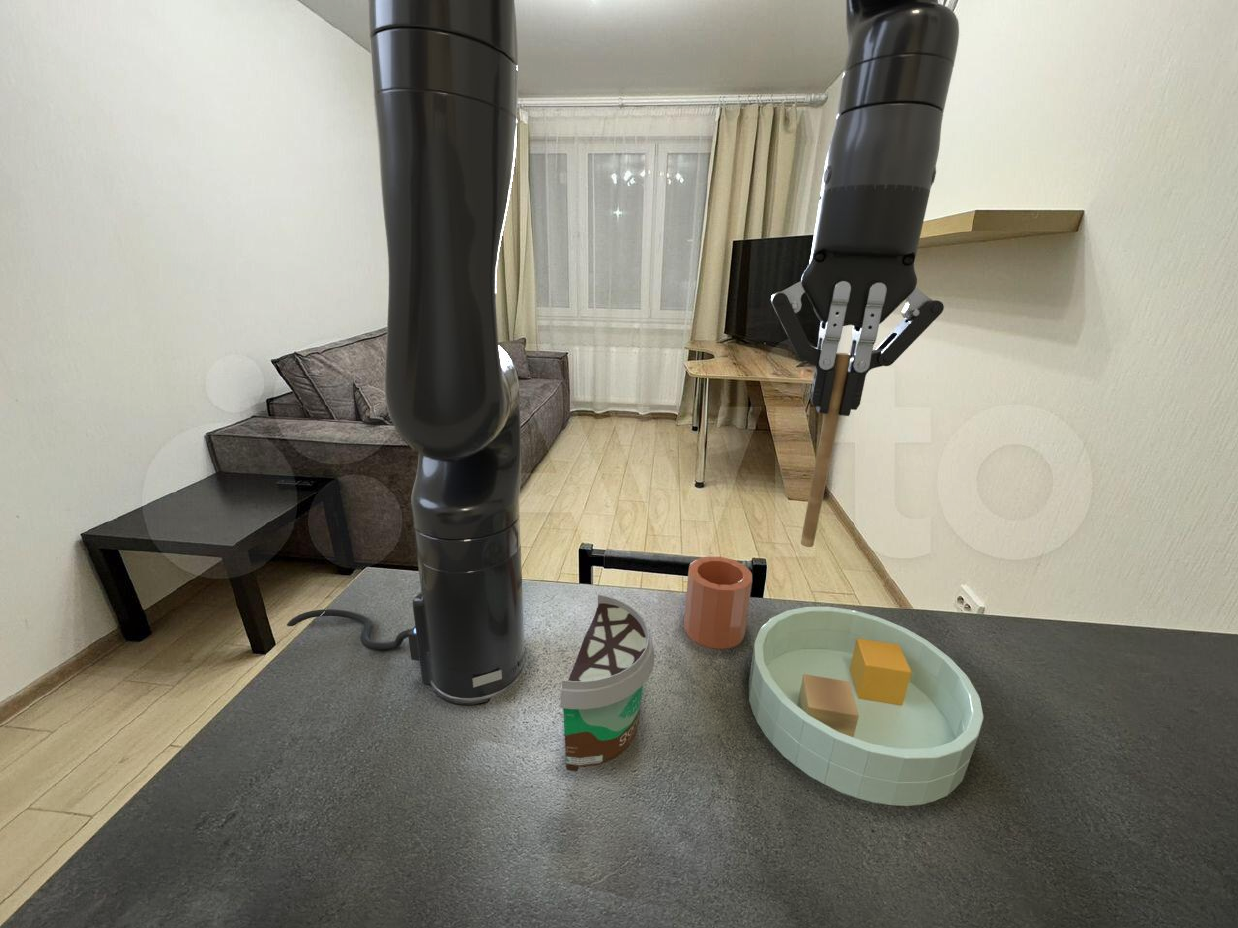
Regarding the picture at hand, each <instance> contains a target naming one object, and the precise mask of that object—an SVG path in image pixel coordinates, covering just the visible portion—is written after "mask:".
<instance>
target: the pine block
mask: <svg viewBox="0 0 1238 928" xmlns="http://www.w3.org/2000/svg"><path fill="white" fill-rule="evenodd" d="M797 706H798V707H799V708H801V709H802V710H803V711H804V712H805V713H807V714H808V715H809V716H811V717H813V718H815V719H816V720H818V721H820V722H822V723H823V724H825V725H827V726H829V727H831V728H832V729H834V730H836V731H838V732H840V733H843V734H845V735H848V736H851V737H853V738H854V734H855V730H856V726H857V722H858V718H859V714H858V711H857V707H856V704H855V700H854V697H853V693H852V690H851V686H850V682H848V681H842V680H836V679H830V678H824V677H818V676H812V675H806V674H803V677H802V683H801V688H800V693H799V698H798V704H797Z"/></svg>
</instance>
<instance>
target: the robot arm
mask: <svg viewBox="0 0 1238 928" xmlns="http://www.w3.org/2000/svg"><path fill="white" fill-rule="evenodd" d="M516 15H517V14H516V3H515V0H368V28H369V29H368V30H369V31H368V32H369V47H370V49H369V50H370V65H371V78H372V79H371V80H372V96H373V107H374V117H375V124H376V125H375V126H376V133H377V134H376V135H377V145H378V159H379V160H378V162H379V175H380V187H381V189H380V190H381V200H382V211H383V221H384V231H385V238H386V250H387V264H388V266H387V268H388V296H387V297H388V298H387V300H388V301H387V320H386V321H387V326H386V341H385V342H386V345H385V361H384V364H385V365H384V398H385V406H386V410H387V414H388V416H389V419H390V422H391V423H392V425H393V427H394V429H395V431H396V433H398V435H399V437H400V438H401V439H402V440H403V442H405V443H406V445H408V447H410V448H411V449H412V450H413V451H414V452H416V453H418V457H417V458H418V459H417V466H416V467H417V468H416V474H415V479H414V481H413V482H414V483H413V486H412V490H411V494H410V508H411V517H412V525H413V534H414V542H415V543H414V544H415V550H416V552H415V553H416V558H417V559H416V560H417V568H418V575H419V584H420V591H419V592H418V593H417V594H416V595H415V596H414V597H413V599H412V602H411V603H412V604H411V605H412V611H413V612H412V613H413V620H414V626H413V628H408V629H405V630H402V631H400V632H398V634H397V635H396V637H395V639H394V640H392V641H388V642H387V641H386V642H377V641H374V640H371V639H370V638H369V635H370V633H371V630H372V627H373V622H372V620H371V619H370V618H369V617H368V616H366V615H363V614H360V613H357V612H355V611H351V610H350V611H349V610H345V609H335V608H331V609H330V608H324V609H323V608H322V609H314V610H310V611H306V612H303V613H300V614H298V615H296V616H293V618H291V619H290V621H288V622H287V623H286V626H287V627H289V628H290V627H293V626H296V625H297V624H300V623H301V622H303V621H306V620H308V619H313V618H318V617H339V618H346V619H350V620H354V621H356V622H359V623H361V624H363V625H364V626H363V628H362V631H361V634H360V637H359V639H360V642H361V645H363V646H364V647H365V648H367V649H370V650H375V651H389V650H394V649H398V648H399V647H400V646H401V645H402V644H403V642H404V640H405V639H407V638H408V645H409V652H410V660H411V661H416V662H419V668H420V669H419V670H420V678H421V683H422V684H426V685H429V686H431V689H432V691H433V692H434V693H435V694H436V695H437V696H438V697H440V698H441V699H443V700H445V701H447V702H450V703H453V704H458V705H478V704H484V703H488V702H490V701H491V699H493V698H495V697H498V696H500V695H502V694H504V693H506V692H507V691H508V690H510V689H511V688H513V686H514V685H516V684H517V683H518V682H519V680H520V679H521V678H522V676H523V674H524V672H525V670H526V665H527V655H526V645H525V623H524V598H523V594H524V593H523V570H522V545H521V544H522V543H521V519H520V517H521V516H520V491H521V482H522V481H521V479H522V430H521V429H522V427H521V425H522V424H521V395H520V394H521V393H520V384H519V383H520V382H519V376H518V374H517V370H516V367H515V365H514V363H513V361H512V359H511V358H510V356H509V355H508V353H507V351H505V350H504V349H503V347H501V346H500V343H499V331H498V315H497V313H498V312H497V269H498V262H499V261H498V260H499V253H500V247H501V241H502V236H503V231H504V226H505V221H506V216H507V211H508V206H509V201H510V194H511V190H512V189H511V188H512V182H513V175H514V169H515V168H514V167H515V159H516V151H517V150H516V149H517V136H518V100H519V99H518V97H519V95H518V93H519V72H518V71H519V53H518V49H519V48H518V32H517V31H518V30H517V16H516ZM959 23H960V22H959V19H958V17H957V15H956V13H955V12H954V11H953V10H952V9H951V8H950V7H949V6H946V5H944V4H942V3H939V0H845V25H846V37H847V38H846V39H847V56H846V60H845V63H844V70H843V76H842V80H841V87H840V93H839V99H838V105H837V111H836V118H835V122H834V127H833V132H832V135H831V139H830V142H829V145H828V149H827V153H826V158H825V164H824V171H823V175H822V183H821V188H820V189H821V190H820V195H819V202H818V208H817V213H816V221H815V226H814V233H813V239H812V244H811V245H812V246H811V252H810V257H809V261H808V263H807V265H806V267H805V269H804V270H802V273H801V275H800V280H799V281H798V282H796V283H794V284H793V285H791V286H789V287H788V288H786V289H783V290H782V291H777V292H774V293H773V294H772V295H771V298H770V303H771V305H772V308H773V309H774V312H775V313H776V316H777V318H778V320H779V322H780V324H781V326H782V329H783V330H784V332H785V334H786V336H787V338H788V340H789V342H790V344H791V347H792V348H793V350H794V353H795V354H796V356H797V357H798V358H799V360H801V361H805V362H808V363H810V364H813V366H814V372H813V380H812V384H811V390H810V394H809V395H810V396H809V397H810V402H811V404H812V406H813V407H815V410H816V412H817V413H818V414H820V415H824V414H827V413H828V410H829V405H830V399H831V394H832V389H833V384H834V378H835V373H836V371H834V370H833V366H834V363H835V358H836V353H838V347H839V343H840V342H841V338H842V333H843V329H844V327H847V326H852V329H851V336H850V337H851V338H850V339H851V342H850V348H849V353H848V354H851V359H850V364H849V369H848V372H847V377H846V382H845V387H844V392H843V397H842V402H841V407H840V412H839V416H841V417H842V416H843V417H850V416H851V412H852V410H853V411H857V410H858V408H859V406H861V400H862V396H863V391H864V386H865V381H866V377H867V374H868V373H869V372H870V371H872V370H873V369H875V368H876V369H877V368H881V367H890V366H892V365H893V364H894V363H895V362H896V361H897V360H898V358H900V357H901V356H902V355H903V354H904V353H905V352H906V351H907V350H908V348H909V347H910V346H912V344H914V342H915V341H916V340H917V339H918V338H919V337H920V336H921V335H922V334H924V332H925V331H926V330H927V329H928V328H929V327H930V326H931V325H932V324H933V323H934V322H935V321H936V320H937V319H938V318H939V316H940V315H941V314H942V313H943V312H944V310H945V306H944V303H943V302H942V301H941V300H935V299H932V298H931V297H929V296H928V295H926V294H925V293H924V292H923V291H922V290H920V288H918V287H917V284H918V277H917V274H916V271H915V270H916V269H915V260H916V257H917V252H918V247H919V243H920V238H921V235H922V229H923V226H924V222H925V217H926V212H927V207H928V202H929V198H930V195H931V189H932V186H933V184H934V183H935V181H936V180H935V179H936V175H937V162H938V158H939V152H940V147H941V137H942V124H943V118H944V112H945V108H946V103H947V98H948V94H949V90H950V85H951V80H952V77H953V71H954V67H955V63H956V58H957V52H958V48H959V40H960V39H959V38H960V24H959ZM803 295H805V297H806V298H807V300H808V302H809V304H810V305H811V308H812V310H813V312H814V313H815V315H816V317H817V318H818V320H819V321H820V325H819V330H818V340H817V347H816V346H813V345H811V343H810V341H809V340H808V339H809V338H808V337H807V335H806V332H805V330H804V329H803V326H802V324H801V322H800V320H799V319H798V316H797V313H799V312H800V311H801V310H802V307H803V303H802V296H803ZM904 301H905V305H904V307H903V308H902V310H901V316H902V318H903V319H902V320H901V321H900V322H899V323H898V324H897V325H896V326H895V327H894V328H893V330H891V331H890V333H889V334H888V335H887V336H886V337H885V338H884V339H883V340H882V341H881V342H880V343H879V344H878V346H877V347H876V348H875V349H874V346H875V344H876V341H877V339H878V333H879V327H880V325H881V324H882V323H883V322H884V321H886V319H888V317H889V316H890V315H892V313H893V312H894V311H895V310H896V309H897V308H898V307H900V306H901V304H903V302H904ZM325 609H327V610H325ZM324 611H325V613H324V614H323V615H322V616H320V615H321V614H322V613H323V612H324Z"/></svg>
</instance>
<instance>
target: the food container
mask: <svg viewBox="0 0 1238 928" xmlns="http://www.w3.org/2000/svg"><path fill="white" fill-rule="evenodd" d="M654 649H655V648H654V644H653V638H652V634H651V632H650V629H649V627H648V625H647V623H646V621H645V619H644V618H643V617H642V615H641V614H640V613H639V612H638V611H637V610H636V609H634V607H632V606H631V605H629V604H628V603H625V602H623V601H621V600H619V599H616V598H614V597H610V596H607V595H602V594H597V607H596V611H595V613H594V616H593V618H592V620H591V622H590V625H589V627H588V629H587V631H586V633H585V635H584V637H583V640H582V643H581V645H580V649H579V650H578V651H579V652H578V654H577V657H576V659H575V661H574V665H573V667H572V669H571V672H570V674H569V677H568V680H566V679H562V680H561V690H560V702H559V708H560V709H562V711H563V731H564V748H565V750H564V753H565V770H567V771H572V772H573V771H574V772H575V771H576V772H578V770H579V768H584V767H591V766H599V765H602V764H604V763H607V762H609V761H611V760H614V759H617V757H619V756H620V755H621V754H622V753H624V752H625V750H627V749H628V748H629V747H630V745H631V744H632V742H633V741H634V739H635V737H636V733H637V729H638V723H639V717H640V710H641V704H642V703H641V702H642V697H643V696H642V695H643V689H644V684H645V683H646V682H647V681H648V679H649V678H650V676H651V674H652V673H653V669H654V666H655V657H656V656H655V655H656V654H655V650H654Z"/></svg>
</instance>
